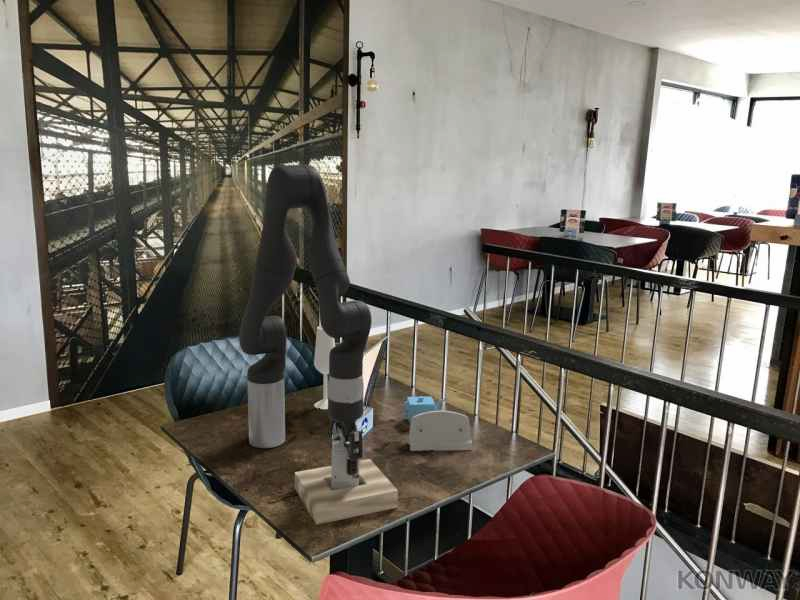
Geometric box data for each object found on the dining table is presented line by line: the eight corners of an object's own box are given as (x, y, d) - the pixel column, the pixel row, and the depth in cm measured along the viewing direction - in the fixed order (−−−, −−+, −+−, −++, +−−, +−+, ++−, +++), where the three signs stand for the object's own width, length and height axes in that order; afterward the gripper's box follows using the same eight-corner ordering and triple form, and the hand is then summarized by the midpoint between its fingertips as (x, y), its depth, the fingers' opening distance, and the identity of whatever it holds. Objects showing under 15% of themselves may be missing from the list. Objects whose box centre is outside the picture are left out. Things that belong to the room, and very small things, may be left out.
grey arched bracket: (409, 450, 167) (409, 411, 169) (407, 449, 172) (407, 410, 173) (473, 450, 169) (473, 410, 170) (470, 448, 173) (469, 410, 175)
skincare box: (331, 501, 141) (331, 448, 138) (330, 490, 145) (330, 439, 143) (359, 499, 142) (360, 447, 139) (358, 489, 146) (359, 439, 144)
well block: (295, 488, 147) (294, 472, 146) (369, 474, 154) (369, 458, 153) (316, 524, 133) (316, 506, 132) (397, 507, 140) (397, 490, 139)
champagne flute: (341, 405, 197) (341, 327, 192) (324, 411, 192) (323, 331, 187) (326, 399, 201) (326, 323, 196) (309, 404, 197) (309, 327, 192)
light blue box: (442, 417, 190) (443, 392, 188) (446, 425, 184) (447, 400, 182) (401, 418, 189) (402, 393, 187) (403, 426, 183) (404, 401, 181)
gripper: (318, 385, 143) (318, 454, 147) (340, 408, 131) (339, 483, 134) (350, 381, 146) (350, 449, 150) (374, 403, 134) (373, 477, 137)
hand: (345, 465), depth 142 cm, fingers open, 8 cm apart
